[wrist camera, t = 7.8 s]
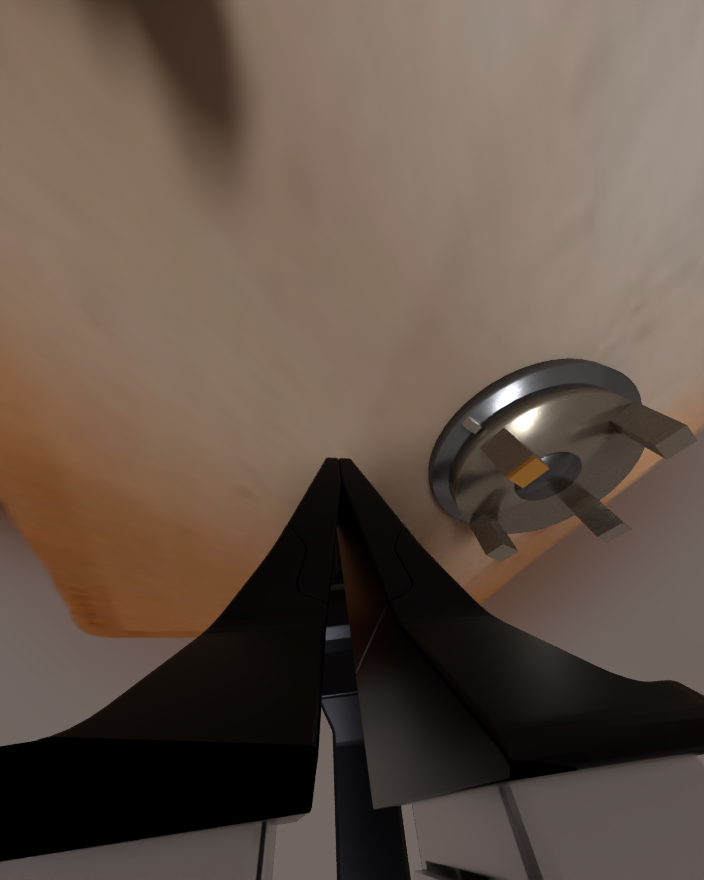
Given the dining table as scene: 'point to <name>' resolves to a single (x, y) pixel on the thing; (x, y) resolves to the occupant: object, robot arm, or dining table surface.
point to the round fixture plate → (555, 462)
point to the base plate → (505, 394)
